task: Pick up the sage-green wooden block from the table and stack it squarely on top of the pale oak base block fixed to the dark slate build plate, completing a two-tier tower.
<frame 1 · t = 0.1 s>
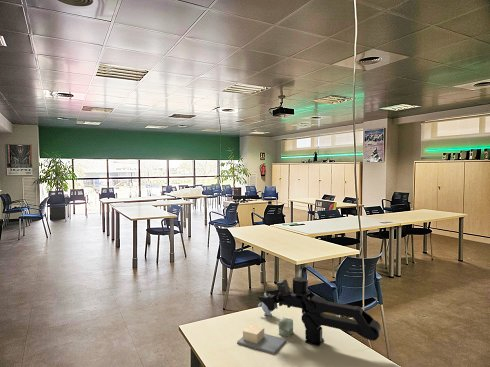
hand: (262, 294, 161), 17 cm above the table, tool horizontal, fingers open, 9 cm apart
build plate: (261, 342, 148), on the table
toy figure: (267, 315, 176), on the table
sage block: (286, 333, 156), on the table
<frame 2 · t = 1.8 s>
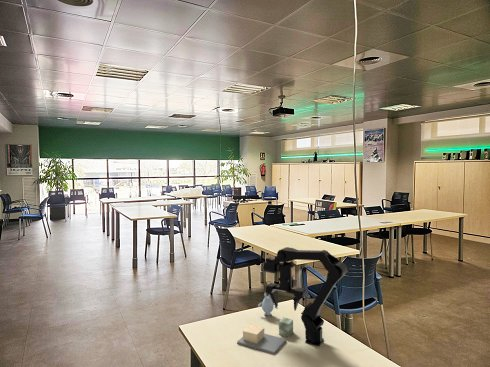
hand: (285, 308, 156), 12 cm above the table, tool pointing down, fingers open, 9 cm apart
nothing on the table moved.
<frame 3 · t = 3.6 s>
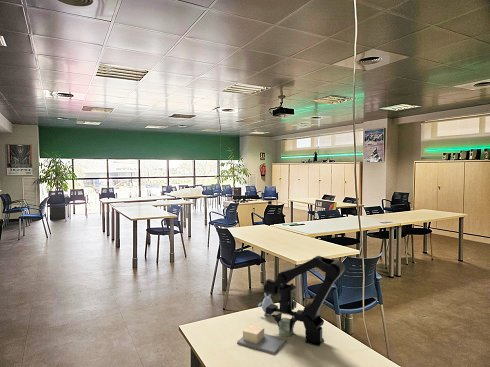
hand: (286, 330, 156), 1 cm above the table, tool pointing down, fingers closed on sage block, 5 cm apart
sage block: (286, 333, 156), on the table, touching gripper
everything else where it was.
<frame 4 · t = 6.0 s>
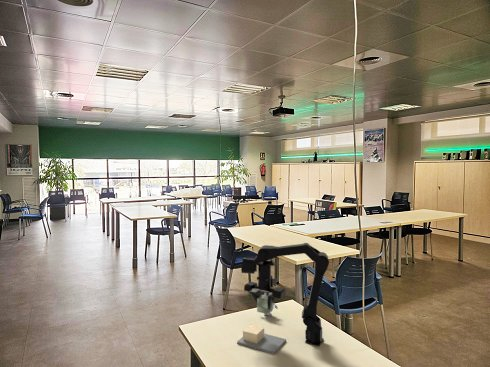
hand: (264, 308, 152), 13 cm above the table, tool pointing down, fingers closed on sage block, 5 cm apart
sage block: (264, 310, 152), point 12 cm above the table, touching gripper
everything else where it was.
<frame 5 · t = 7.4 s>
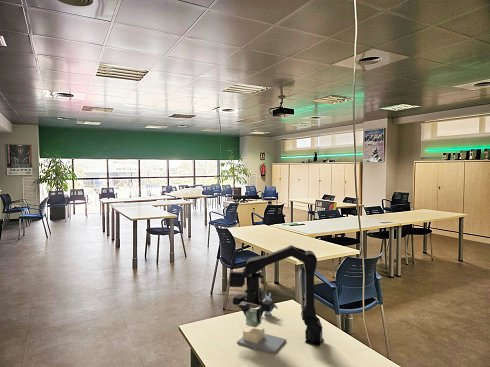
hand: (253, 321, 150), 9 cm above the table, tool pointing down, fingers closed on sage block, 5 cm apart
sage block: (253, 324, 150), point 7 cm above the table, touching gripper
everything else where it was.
when the fingers open (8 cm above the table, at t = 8.4 s): sage block drops 2 cm, resting on build plate.
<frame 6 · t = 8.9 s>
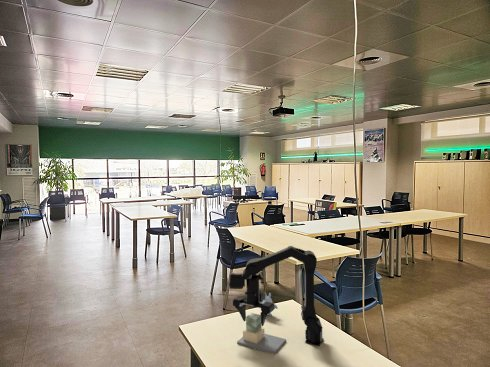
hand: (253, 323, 150), 8 cm above the table, tool pointing down, fingers open, 9 cm apart
sage block: (253, 329, 150), point 5 cm above the table, touching build plate
everything else where it was.
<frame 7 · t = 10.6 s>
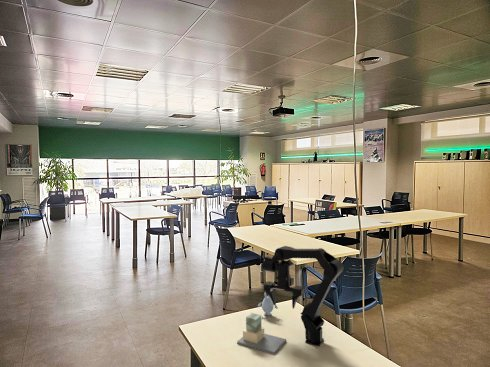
hand: (284, 306, 157), 12 cm above the table, tool pointing down, fingers open, 9 cm apart
nothing on the table moved.
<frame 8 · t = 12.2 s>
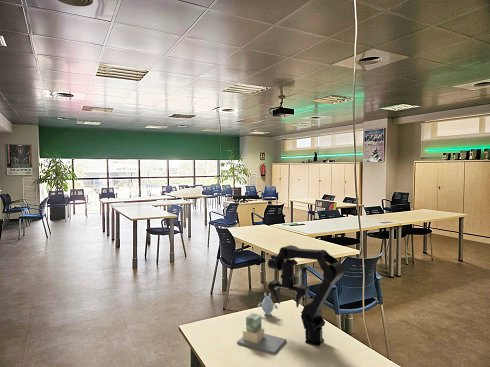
hand: (288, 305, 158), 12 cm above the table, tool pointing down, fingers open, 9 cm apart
nothing on the table moved.
at the end: sage block 0.1 cm from the target spot on the build plate, point 5.0 cm above the build plate's base; sage block tilted 0°; the gripper is holding nothing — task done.
